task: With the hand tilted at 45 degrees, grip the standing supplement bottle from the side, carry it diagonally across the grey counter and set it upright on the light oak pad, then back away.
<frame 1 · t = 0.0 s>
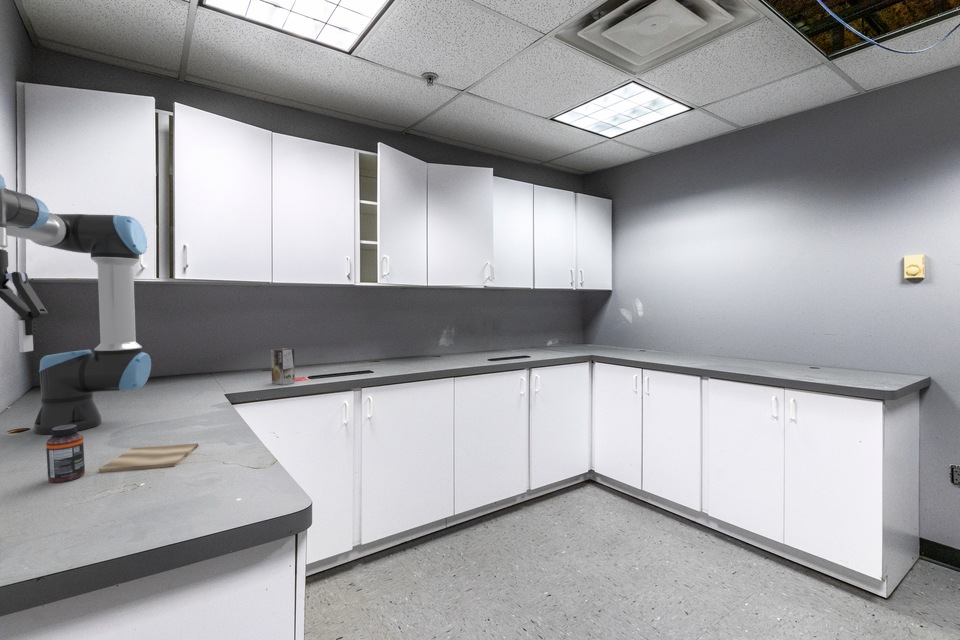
oak pad: (152, 458, 110), on the counter
supplement bottle: (66, 479, 98), on the counter
coffee box: (283, 383, 212), on the counter
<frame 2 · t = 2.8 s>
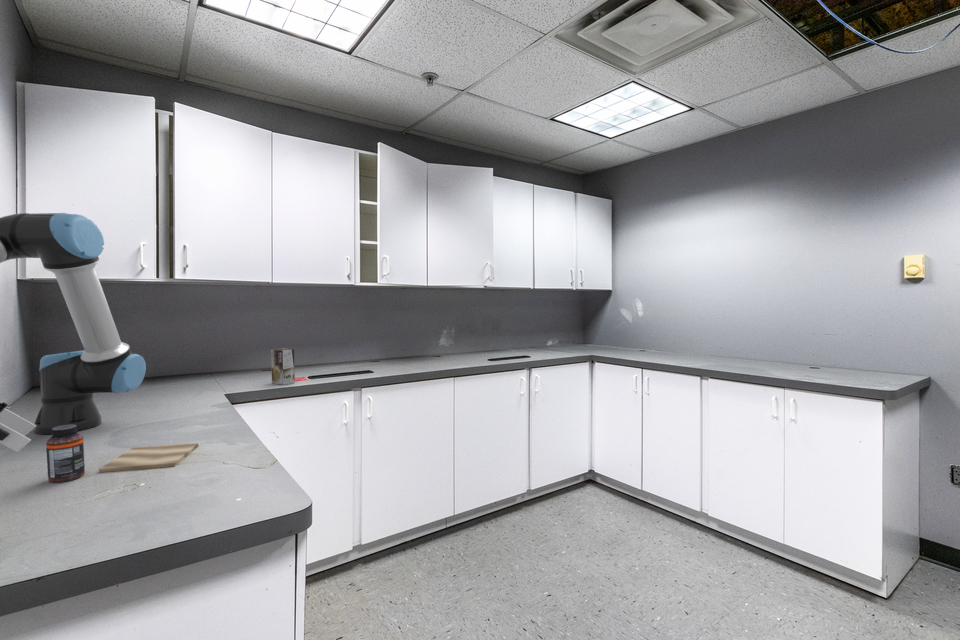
hand: (27, 438, 93), 10 cm above the counter, tool tilted 45°, fingers open, 13 cm apart
nothing on the counter moved.
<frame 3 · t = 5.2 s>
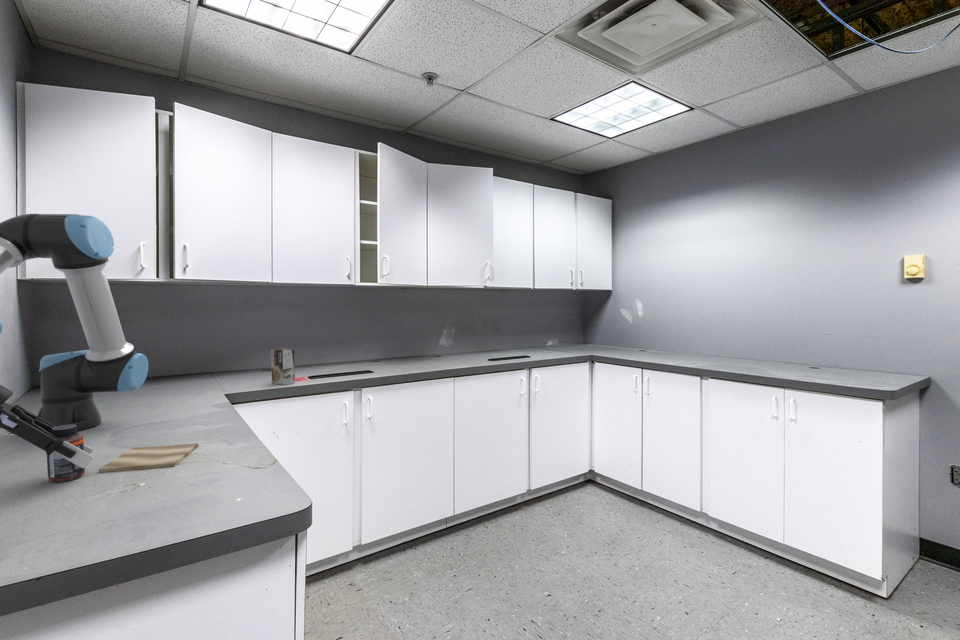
hand: (88, 458, 100), 3 cm above the counter, tool tilted 45°, fingers closed on supplement bottle, 6 cm apart
supplement bottle: (66, 478, 98), on the counter, touching gripper
everything else where it was.
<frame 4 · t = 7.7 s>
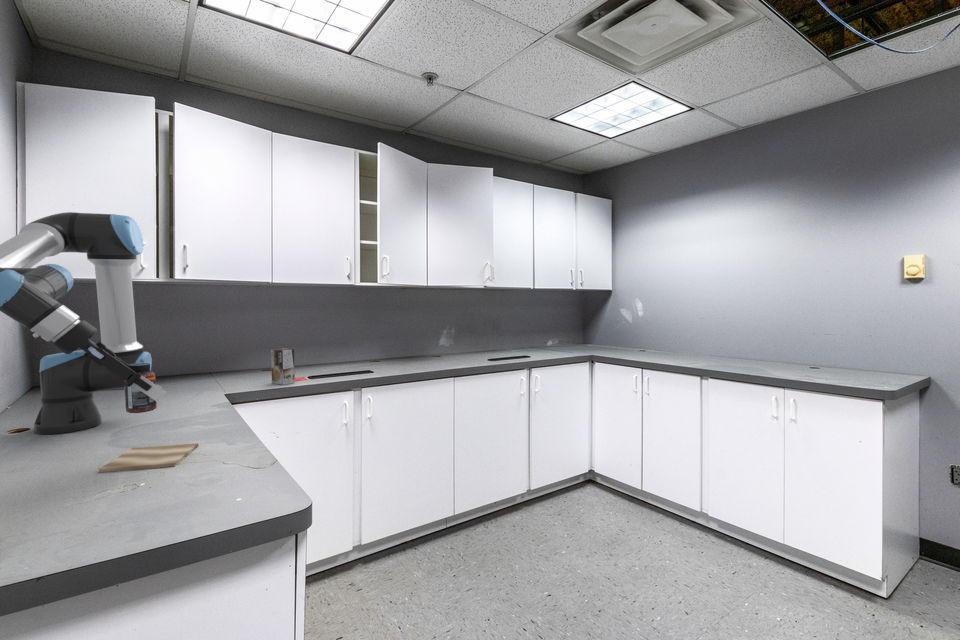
hand: (159, 394, 110), 16 cm above the counter, tool tilted 45°, fingers closed on supplement bottle, 6 cm apart
supplement bottle: (141, 411, 108), point 12 cm above the counter, touching gripper
everything else where it was.
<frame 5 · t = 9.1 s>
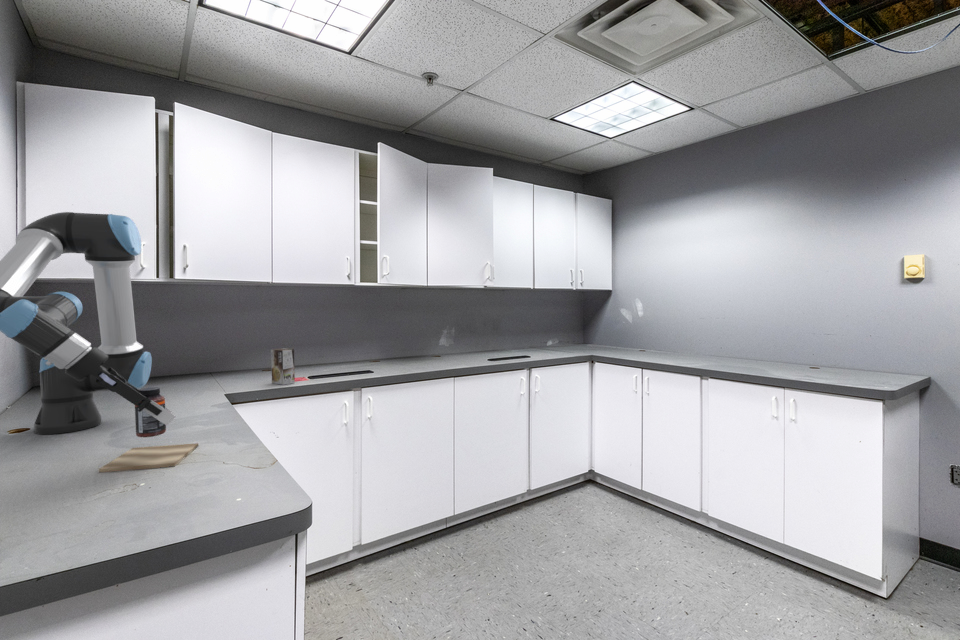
hand: (168, 418, 112), 9 cm above the counter, tool tilted 45°, fingers closed on supplement bottle, 6 cm apart
supplement bottle: (151, 435, 109), point 6 cm above the counter, touching gripper
everything else where it was.
when the fingers open (5 cm above the counter, at t = 10.2 s): supplement bottle drops 1 cm, resting on oak pad.
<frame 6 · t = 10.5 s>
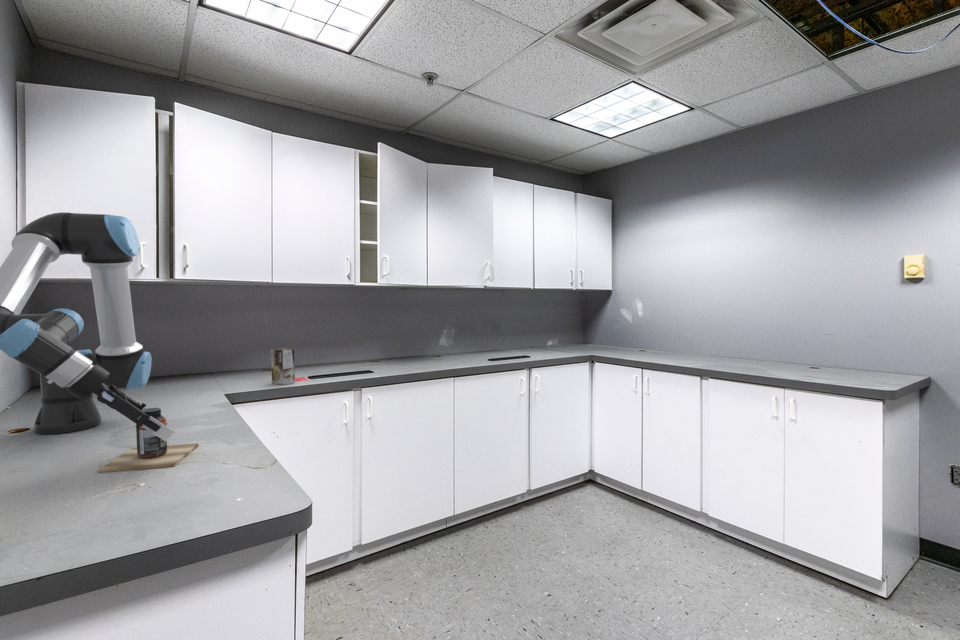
hand: (166, 431, 112), 6 cm above the counter, tool tilted 45°, fingers open, 10 cm apart
supplement bottle: (152, 455, 110), point 1 cm above the counter, touching oak pad
everything else where it was.
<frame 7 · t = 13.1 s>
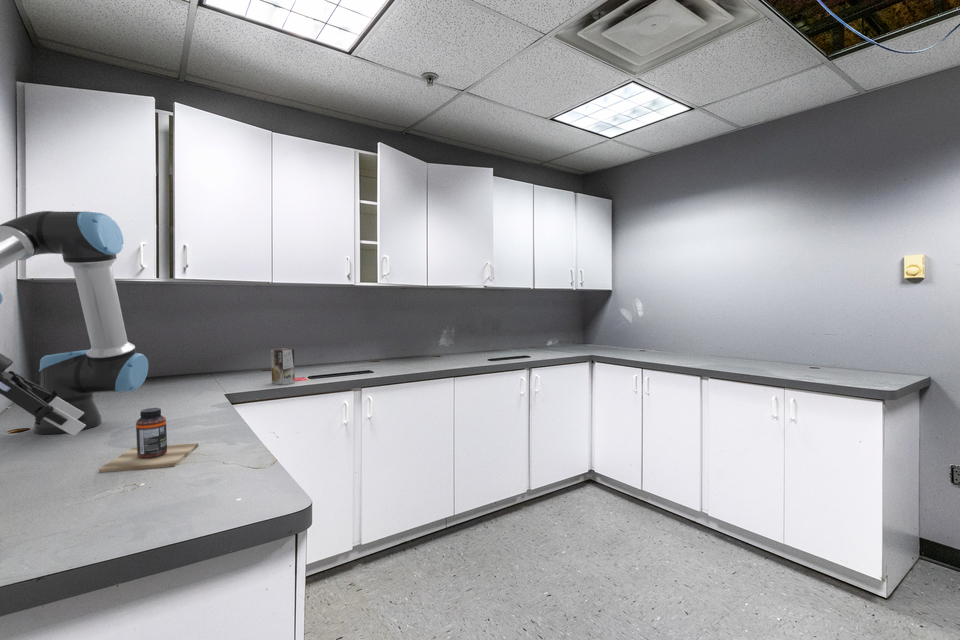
hand: (79, 423, 101), 11 cm above the counter, tool tilted 45°, fingers open, 13 cm apart
nothing on the counter moved.
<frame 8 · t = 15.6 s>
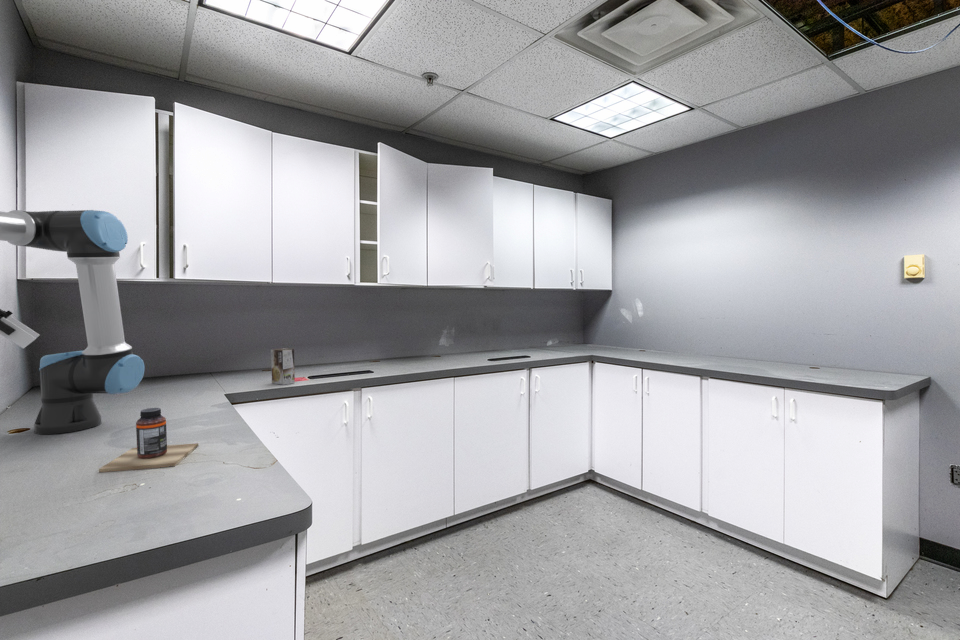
hand: (32, 341, 98), 30 cm above the counter, tool tilted 45°, fingers open, 13 cm apart
nothing on the counter moved.
at the end: supplement bottle inside the target area on the oak pad (0.1 cm from its centre), point 0.6 cm above the oak pad's base; supplement bottle tilted 0°; the gripper is holding nothing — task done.
